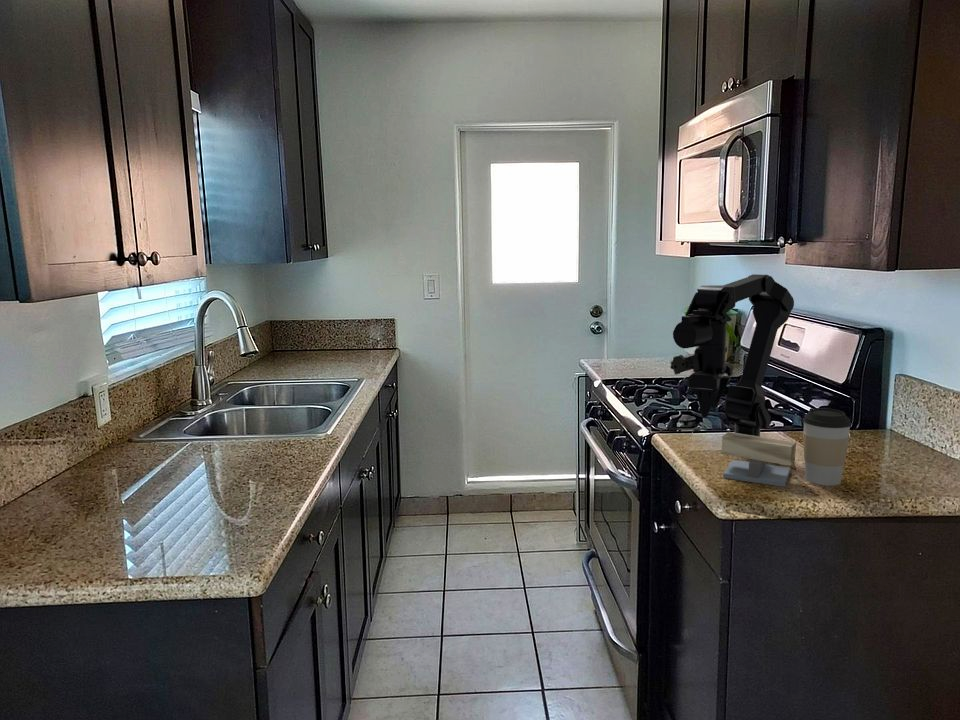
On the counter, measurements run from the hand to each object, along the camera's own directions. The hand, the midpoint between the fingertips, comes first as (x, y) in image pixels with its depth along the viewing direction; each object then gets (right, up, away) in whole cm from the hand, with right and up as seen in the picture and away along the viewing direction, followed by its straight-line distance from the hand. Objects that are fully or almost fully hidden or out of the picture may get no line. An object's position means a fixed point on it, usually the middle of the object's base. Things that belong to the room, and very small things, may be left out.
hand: (709, 412), depth 152 cm
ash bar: (+8, -9, -7) cm, 14 cm away
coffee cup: (+21, -14, -10) cm, 26 cm away
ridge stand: (+8, -13, -6) cm, 17 cm away
